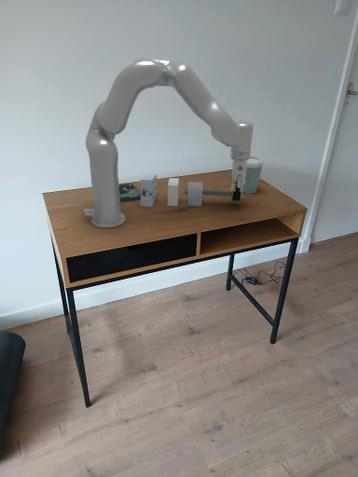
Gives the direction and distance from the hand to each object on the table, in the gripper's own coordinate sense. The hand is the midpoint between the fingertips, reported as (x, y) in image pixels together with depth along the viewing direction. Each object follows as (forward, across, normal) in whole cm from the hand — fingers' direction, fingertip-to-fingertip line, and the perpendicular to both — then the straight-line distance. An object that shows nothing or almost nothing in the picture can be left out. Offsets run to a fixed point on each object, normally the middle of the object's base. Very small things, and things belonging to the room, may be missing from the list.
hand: (235, 197), depth 151 cm
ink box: (+4, -2, +36) cm, 36 cm away
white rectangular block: (+3, 0, +26) cm, 26 cm away
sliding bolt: (+2, 0, +9) cm, 10 cm away
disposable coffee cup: (+4, +16, -7) cm, 18 cm away
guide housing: (+3, 0, +17) cm, 17 cm away
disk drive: (+4, +6, +47) cm, 48 cm away
